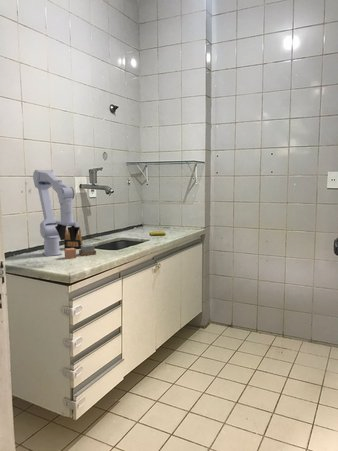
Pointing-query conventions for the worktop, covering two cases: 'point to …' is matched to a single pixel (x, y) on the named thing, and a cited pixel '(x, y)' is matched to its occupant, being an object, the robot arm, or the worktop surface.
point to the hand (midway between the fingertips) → (67, 240)
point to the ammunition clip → (75, 244)
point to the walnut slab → (87, 253)
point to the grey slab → (87, 247)
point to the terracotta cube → (70, 253)
